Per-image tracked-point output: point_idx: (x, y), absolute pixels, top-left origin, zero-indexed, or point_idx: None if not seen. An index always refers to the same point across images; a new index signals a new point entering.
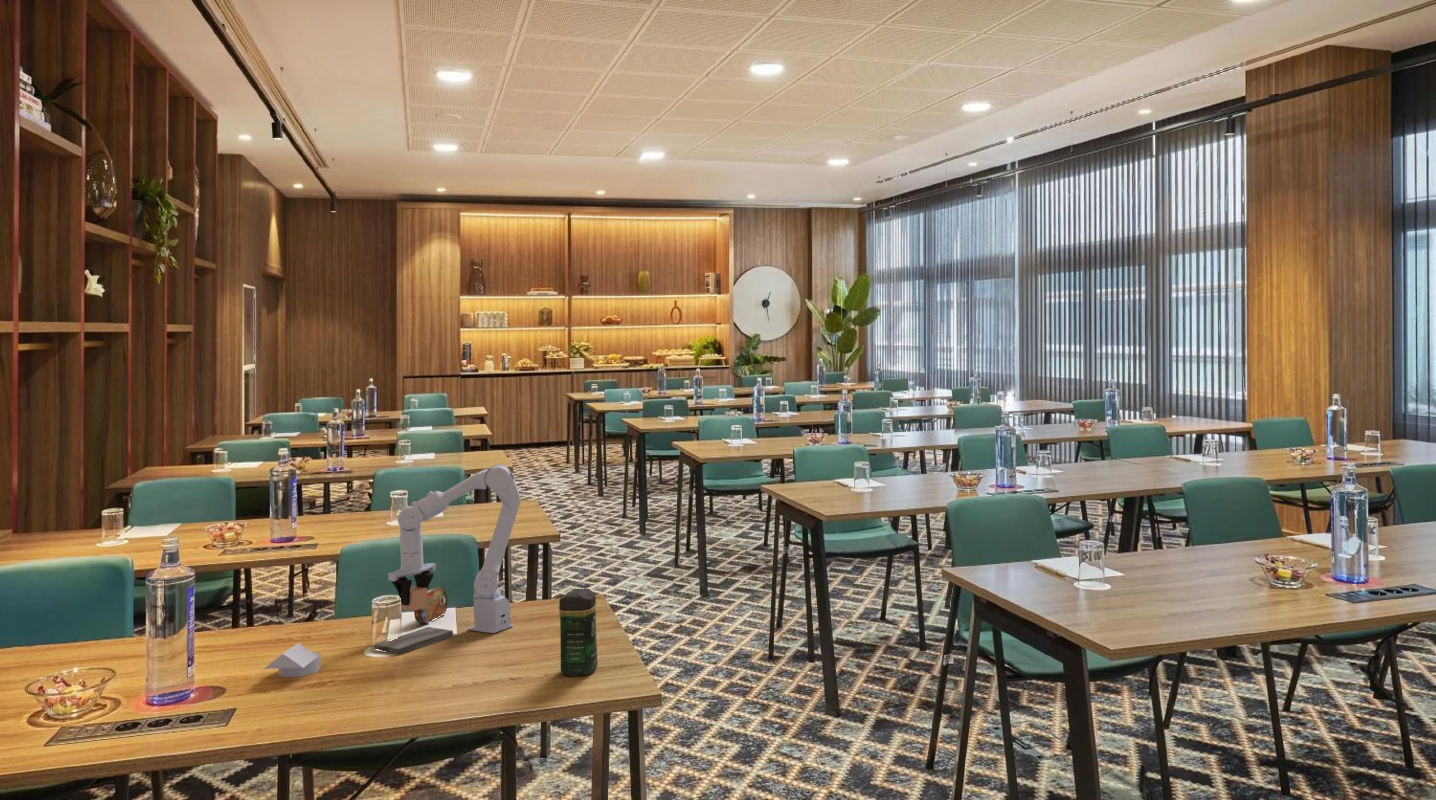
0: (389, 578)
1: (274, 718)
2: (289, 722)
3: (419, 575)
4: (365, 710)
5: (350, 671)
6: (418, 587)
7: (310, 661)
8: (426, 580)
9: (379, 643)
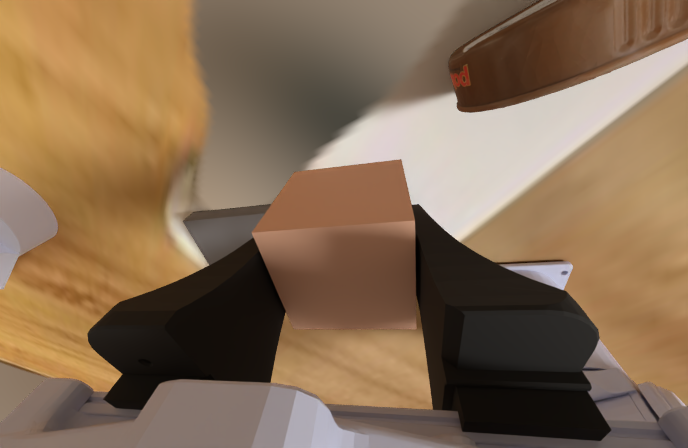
0: (35, 408)
1: (27, 340)
2: (50, 357)
3: (440, 374)
4: None
5: (124, 285)
6: (401, 278)
7: (8, 272)
8: (429, 379)
9: (199, 223)
